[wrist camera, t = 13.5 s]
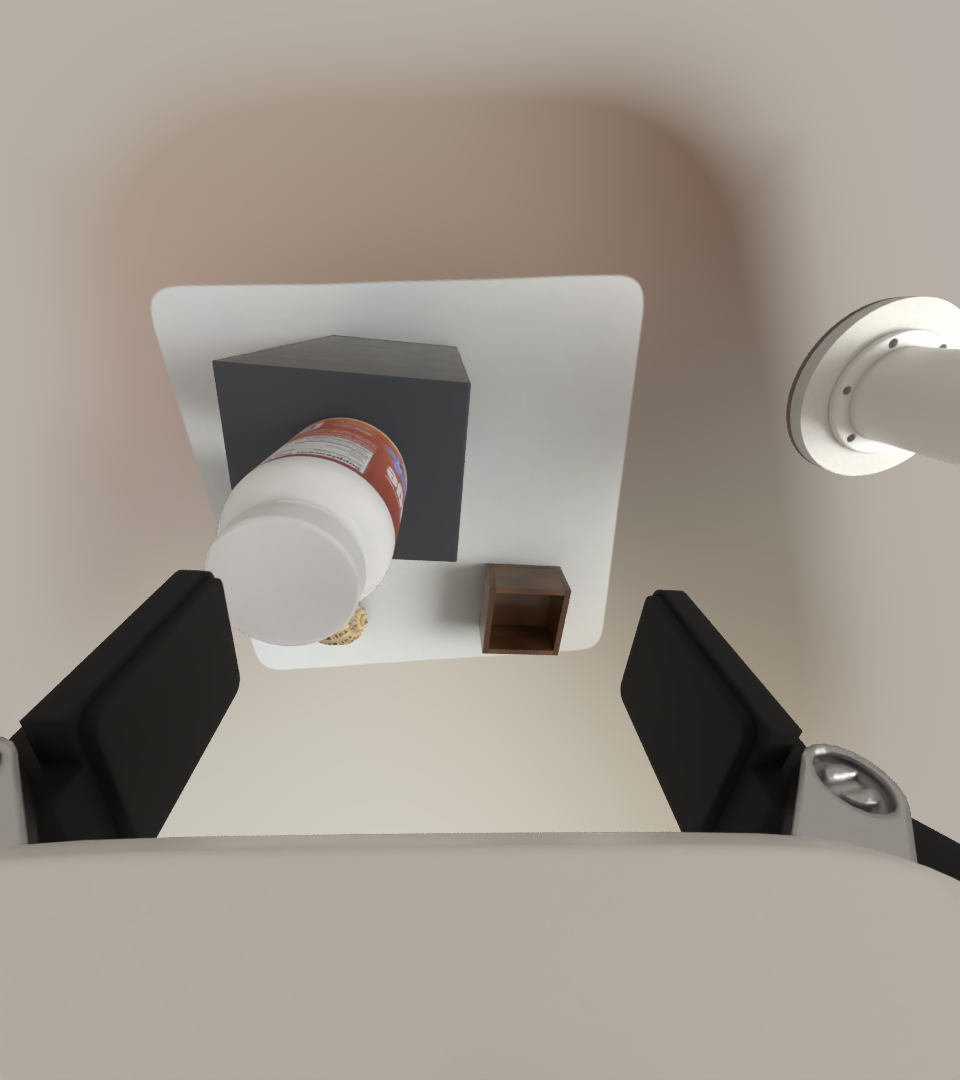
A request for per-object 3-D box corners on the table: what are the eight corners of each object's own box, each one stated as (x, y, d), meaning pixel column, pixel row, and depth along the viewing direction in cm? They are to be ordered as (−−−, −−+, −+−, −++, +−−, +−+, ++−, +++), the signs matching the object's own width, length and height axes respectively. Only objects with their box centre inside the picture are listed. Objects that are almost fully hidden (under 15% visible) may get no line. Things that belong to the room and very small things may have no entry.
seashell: (322, 623, 62) (382, 625, 58) (293, 654, 58) (356, 659, 53) (297, 576, 59) (359, 574, 55) (263, 605, 54) (328, 606, 50)
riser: (456, 346, 46) (470, 382, 23) (450, 446, 50) (456, 562, 27) (332, 335, 45) (211, 360, 21) (336, 437, 49) (240, 552, 26)
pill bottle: (395, 539, 26) (364, 680, 16) (281, 513, 25) (173, 648, 15) (420, 433, 23) (403, 522, 13) (295, 398, 22) (176, 468, 12)
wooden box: (560, 566, 58) (571, 590, 53) (548, 627, 62) (557, 655, 57) (485, 563, 57) (490, 587, 52) (479, 625, 61) (482, 653, 56)
